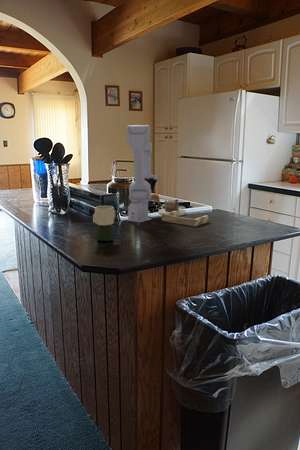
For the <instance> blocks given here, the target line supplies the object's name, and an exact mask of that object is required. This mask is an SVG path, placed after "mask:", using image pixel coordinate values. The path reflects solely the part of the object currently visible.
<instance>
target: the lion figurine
mask: <svg viewBox="0 0 300 450" xmlns="http://www.w3.org/2000/svg"><path fill="white" fill-rule="evenodd" d="M149 202H153V203H152V204H154V205H155V204H156V202H157V204H160V205H161V200H160V197H159V195H158V194H156V193H151V200H150V201H149Z"/></svg>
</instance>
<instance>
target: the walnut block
mask: <svg viewBox="0 0 300 450" xmlns="http://www.w3.org/2000/svg"><path fill="white" fill-rule="evenodd" d="M179 205H180V201H178V200H166V201H165V202H164V209H165V211H167V212H173V211H179V209H180V208H179V207H180V206H179Z"/></svg>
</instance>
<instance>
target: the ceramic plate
mask: <svg viewBox="0 0 300 450" xmlns="http://www.w3.org/2000/svg"><path fill="white" fill-rule="evenodd" d="M159 213H160V214H159ZM165 213H169V212H167V211H165V208H161V209H159V210H158V214H159V216H162V214H165ZM186 213H187V210H185V209H183V208H179V211H178V215H177V216H178V217H183V216H185V215H186Z"/></svg>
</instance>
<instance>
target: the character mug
mask: <svg viewBox="0 0 300 450" xmlns="http://www.w3.org/2000/svg"><path fill="white" fill-rule="evenodd" d="M115 219H116V210H115V208H114V206H112V205H97V206H95V207H94V214H92V221H93V223H95V224H96V225H98V226H97V231H96V241H101V242H108V241H112V240H113V239H114V236H113V235H114V234H113V233H114V232H113V228H112V225H113V224H114V223H115Z"/></svg>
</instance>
